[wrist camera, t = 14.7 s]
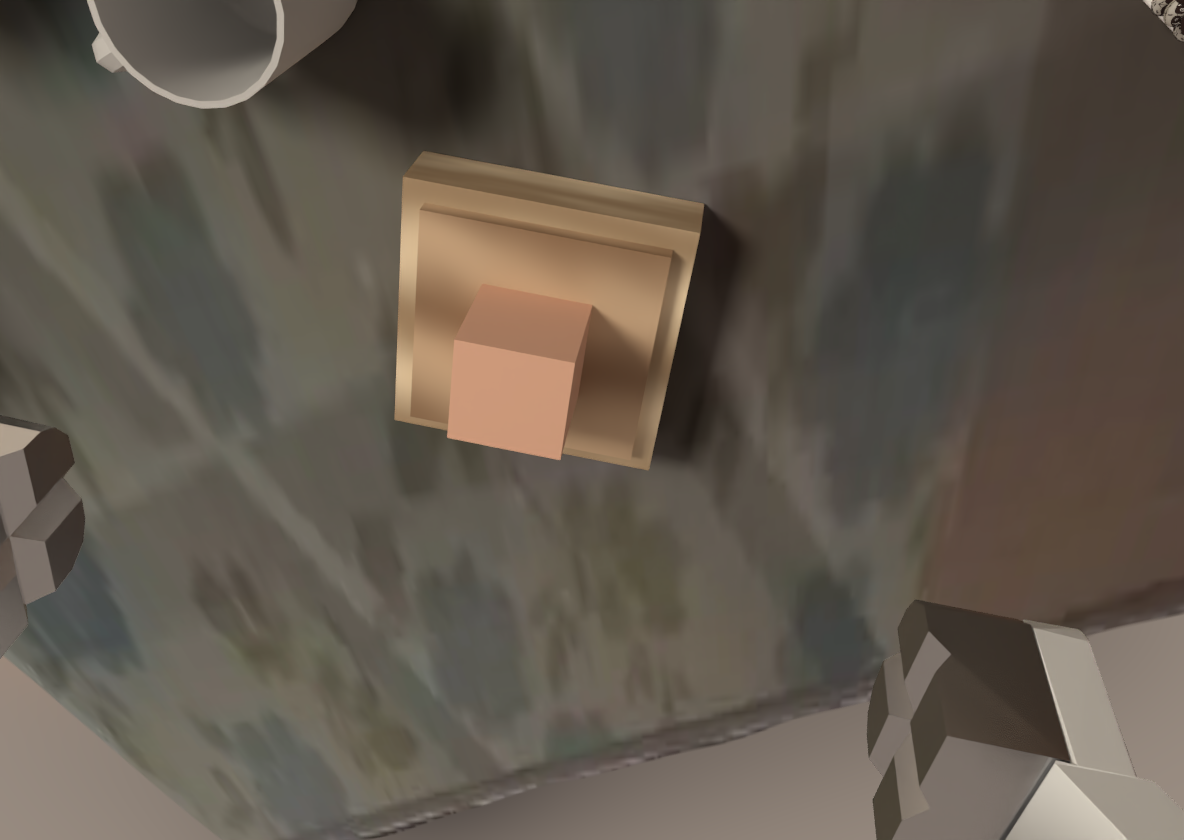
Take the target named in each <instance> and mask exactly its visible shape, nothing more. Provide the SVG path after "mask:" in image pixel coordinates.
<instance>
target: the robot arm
mask: <svg viewBox="0 0 1184 840" xmlns="http://www.w3.org/2000/svg"><path fill="white" fill-rule="evenodd" d="M74 463H75V461H74V457H73V453H72V449H71V445H70V441H69V437H68V435H67V434H65V433H64V432H62V431H60V430H58V429H57V428H55V427H51V426H47V425H42V424H38V423H33V422H29V421H24V420H20V419H15V418H11V417H6V416H2V415H0V658H1V657H2V656H3V655H4V654H5V652H6V651H7V650H8V649H9V647H10V646H11V645H12V644H13V643H14V641H15V640H16V639H17V638H18V636H19V635H20V634H21V633H22V632H23V630H24V629H25V628H26V627H27V625H28V617H27V607H26V604H28V603H30V602H33V601H35V600H37V599H39V598H41V597H43V596H46V595H48V594H50V593H52V592H54V591H56V590H57V588H58V587H59V586H60V584H61V583H62V582H63V581H64V579H65V578H66V577H67V575H68V574H69V573H70V571H71V570H72V569H73V566H74V564H75V561H76V559H77V556H78V554H79V551H80V549H81V546H82V543H83V540H84V528H85V514H84V508H83V502H82V498H81V497H80V496H79V495H78V494H77V493H76V492H75V490H74V489H73V488H72V487H71V486H70V485H69V484H68V483H67V481H66V480H65V479H64V478H63V477H64V476H65V474H66V473H67V472H68V471H69V470H70V468H71V467H72V466H73V465H74ZM898 636H899V644H900V652H899V653H897V654H895V655H893V656H891V657H890V658H888V659H886V660H884V661H883V663H882V665H881V668H880V670H879V673H878V675H877V678H876V680H875V683H874V685H873V690H872V695H871V700H870V705H869V710H868V722H867V742H868V754H869V759H870V761H871V762H872V763H873V764H874V766H875V767H876V768H877V770H878V771H879V772H880V774H881V775H882V776H883V779H882V781H881V783H880V785H879V788H878V790H877V792H876V794H875V796H874V798H873V807H874V818H875V827H876V837H877V840H1184V810H1183V809H1182V808H1181V807H1180V806H1179V805H1178V804H1177V803H1175V801H1173V800H1172V798H1171V797H1170V796H1169V795H1168V794H1166V792H1164V790H1163V789H1161V788H1160V787H1159V786H1158V785H1157V784H1156V783H1155V782H1154V781H1150V780H1145V779H1141V778H1137V776H1136V773H1135V770H1134V767H1133V764H1132V762H1131V759H1130V756H1129V753H1128V750H1127V747H1126V744H1125V742H1124V739H1123V736H1122V733H1121V730H1120V728H1119V725H1118V722H1117V719H1116V716H1115V713H1114V711H1113V708H1112V705H1111V702H1110V699H1109V697H1108V694H1107V691H1106V688H1105V685H1104V682H1103V679H1102V677H1101V674H1100V671H1099V668H1098V665H1097V662H1096V660H1095V657H1094V654H1093V651H1092V649H1091V646H1090V643H1089V640H1088V638H1087V637H1086V636H1085V635H1084V634H1083V633H1082V632H1081V631H1080V630H1079V629H1073V628H1068V627H1062V626H1057V625H1051V624H1046V623H1040V622H1035V621H1029V620H1023V621H1021V620H1018V619H1014V618H1009V617H1003V616H998V615H993V614H988V613H983V612H977V611H972V610H967V609H962V608H957V607H952V606H946V605H941V604H936V603H931V602H926V601H920V600H914V601H913V602H912V604H911V605H910V606H909V607H908V608H907V609H906V611H905V613H904V616H903V618H902V620H901V622H900V624H899V626H898Z"/></svg>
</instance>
